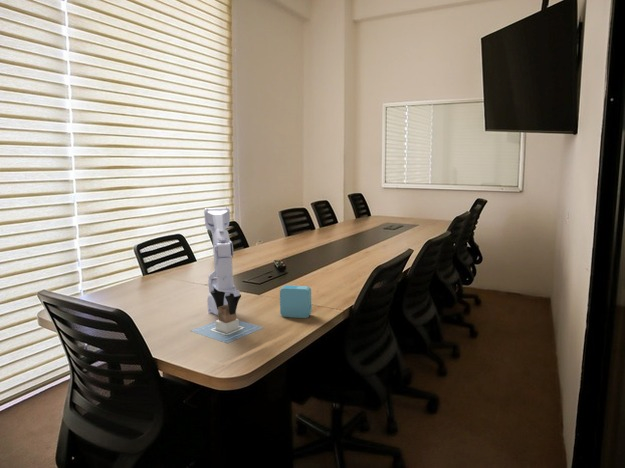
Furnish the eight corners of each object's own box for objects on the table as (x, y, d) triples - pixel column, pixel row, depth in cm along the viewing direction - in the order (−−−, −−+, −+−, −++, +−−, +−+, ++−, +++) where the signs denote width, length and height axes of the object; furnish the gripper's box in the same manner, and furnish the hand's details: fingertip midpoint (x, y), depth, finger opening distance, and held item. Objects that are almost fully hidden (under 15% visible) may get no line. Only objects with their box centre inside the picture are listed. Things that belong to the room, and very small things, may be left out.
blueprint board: (190, 333, 164) (190, 330, 163) (227, 319, 178) (226, 316, 178) (227, 346, 152) (227, 342, 152) (264, 329, 166) (263, 326, 166)
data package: (311, 314, 182) (311, 286, 180) (309, 318, 178) (308, 289, 176) (283, 313, 184) (282, 285, 182) (280, 316, 180) (279, 288, 178)
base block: (215, 329, 164) (215, 320, 163) (227, 325, 169) (227, 316, 168) (226, 333, 160) (226, 324, 160) (238, 328, 165) (238, 319, 165)
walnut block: (218, 320, 164) (218, 307, 163) (228, 316, 167) (228, 304, 167) (225, 322, 161) (225, 309, 160) (236, 319, 164) (235, 306, 163)
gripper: (246, 276, 159) (247, 313, 161) (222, 270, 169) (223, 304, 171) (229, 280, 154) (231, 318, 156) (206, 273, 164) (208, 309, 166)
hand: (226, 311), depth 164 cm, fingers open, 7 cm apart
